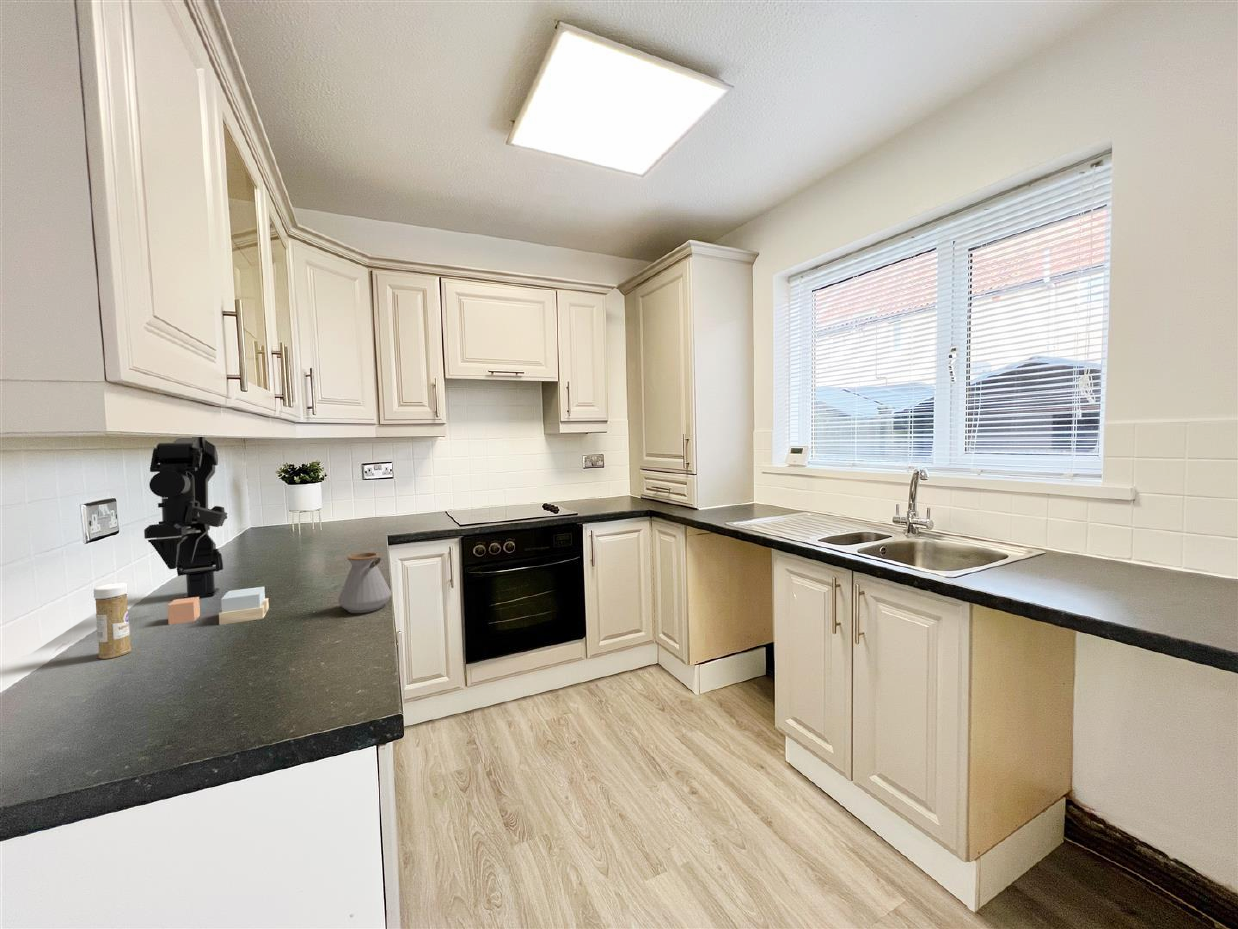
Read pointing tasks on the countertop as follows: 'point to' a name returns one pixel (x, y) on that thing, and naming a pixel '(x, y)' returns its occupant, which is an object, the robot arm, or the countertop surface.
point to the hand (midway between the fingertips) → (181, 566)
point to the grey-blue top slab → (243, 599)
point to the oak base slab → (244, 614)
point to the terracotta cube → (183, 610)
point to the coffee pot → (364, 585)
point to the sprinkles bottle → (112, 620)
